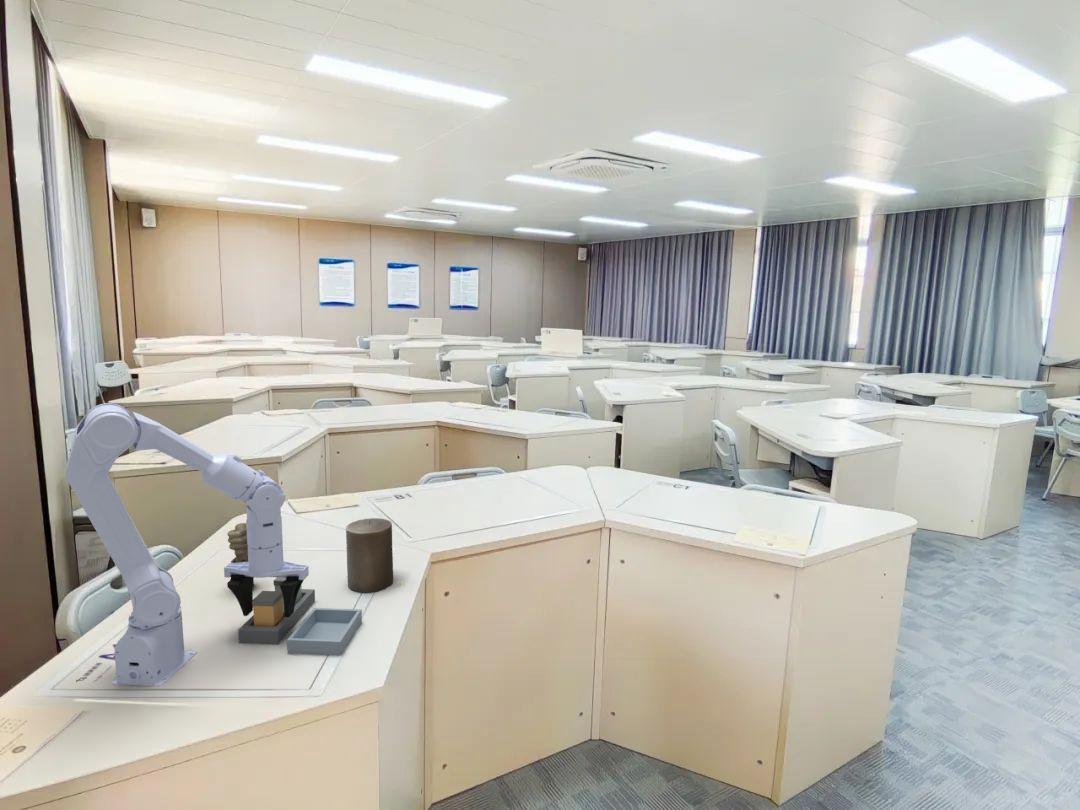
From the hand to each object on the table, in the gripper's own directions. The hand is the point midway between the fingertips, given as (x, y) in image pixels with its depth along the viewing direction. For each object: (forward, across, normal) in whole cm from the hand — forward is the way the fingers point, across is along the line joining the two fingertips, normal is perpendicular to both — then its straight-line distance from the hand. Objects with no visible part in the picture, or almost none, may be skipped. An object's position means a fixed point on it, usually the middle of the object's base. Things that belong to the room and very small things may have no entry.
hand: (268, 614), depth 106 cm
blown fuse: (+3, 0, 0) cm, 3 cm away
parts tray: (+4, -11, +1) cm, 12 cm away
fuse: (+3, 0, -8) cm, 9 cm away
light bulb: (+4, +13, -16) cm, 21 cm away
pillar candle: (+4, -12, -21) cm, 25 cm away
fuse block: (+4, 0, -4) cm, 6 cm away
